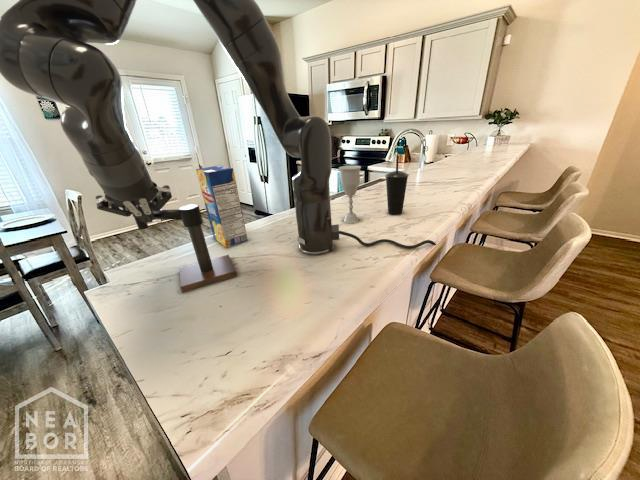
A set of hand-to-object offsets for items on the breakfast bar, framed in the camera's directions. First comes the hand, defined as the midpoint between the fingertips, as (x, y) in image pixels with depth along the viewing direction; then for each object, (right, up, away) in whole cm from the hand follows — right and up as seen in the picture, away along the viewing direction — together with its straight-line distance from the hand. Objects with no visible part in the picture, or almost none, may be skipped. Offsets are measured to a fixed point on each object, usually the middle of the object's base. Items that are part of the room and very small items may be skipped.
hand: (148, 219), depth 59 cm
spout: (+4, -2, +2) cm, 5 cm away
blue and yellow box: (+10, -5, +25) cm, 27 cm away
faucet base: (+11, -13, +6) cm, 18 cm away
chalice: (+49, +2, +33) cm, 59 cm away
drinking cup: (+65, +5, +36) cm, 75 cm away
